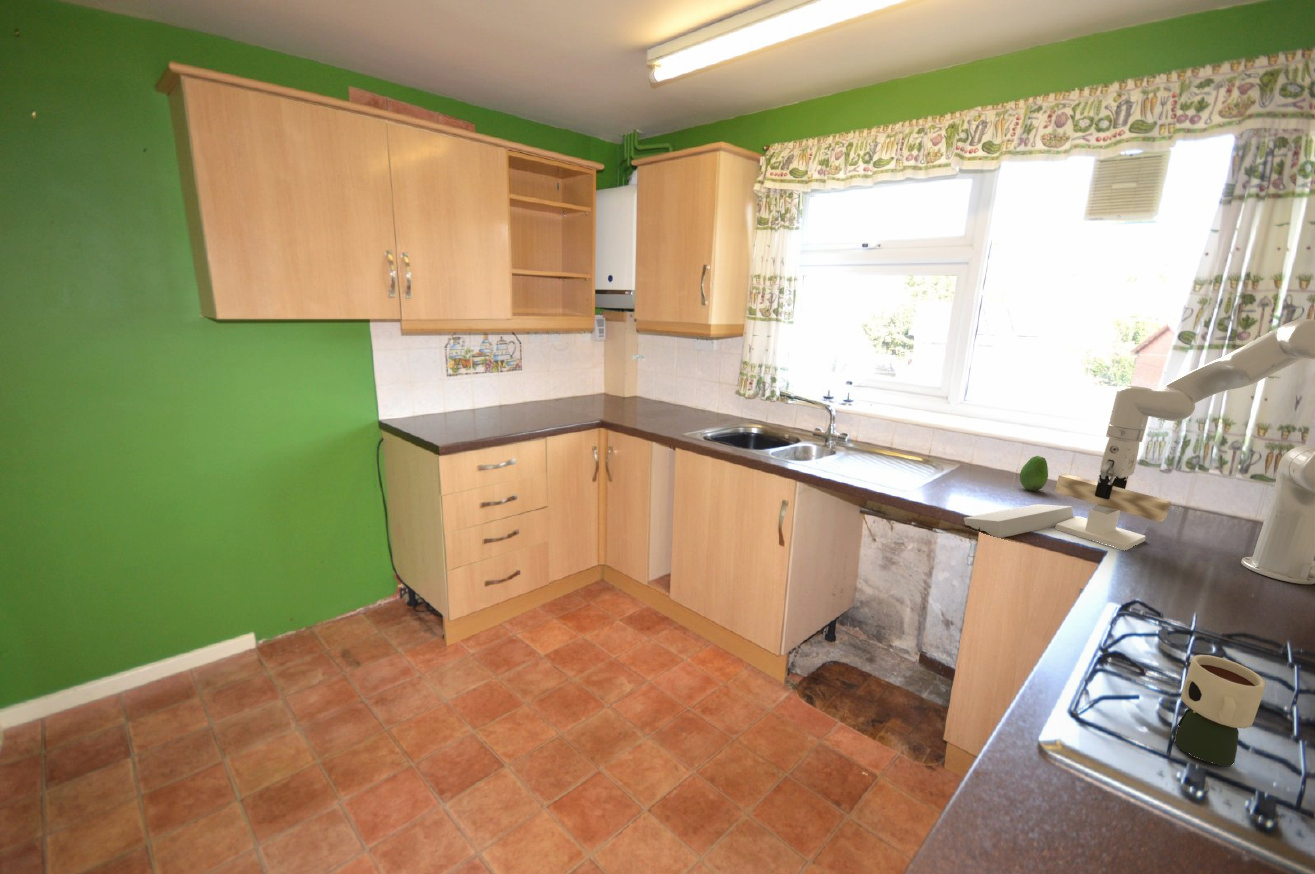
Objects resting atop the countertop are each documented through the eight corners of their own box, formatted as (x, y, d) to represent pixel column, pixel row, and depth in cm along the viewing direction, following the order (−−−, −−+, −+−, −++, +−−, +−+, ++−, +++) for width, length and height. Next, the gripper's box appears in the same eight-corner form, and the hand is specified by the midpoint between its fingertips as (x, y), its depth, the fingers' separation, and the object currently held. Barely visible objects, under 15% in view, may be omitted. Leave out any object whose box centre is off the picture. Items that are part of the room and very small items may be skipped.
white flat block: (964, 535, 160) (1000, 539, 151) (963, 517, 160) (998, 521, 151) (1037, 519, 175) (1073, 523, 166) (1036, 504, 175) (1072, 506, 166)
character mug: (1163, 719, 85) (1187, 641, 82) (1229, 742, 81) (1256, 661, 78) (1170, 763, 76) (1197, 678, 73) (1244, 792, 72) (1276, 703, 69)
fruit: (1011, 486, 197) (1018, 453, 194) (1028, 485, 200) (1036, 452, 197) (1032, 494, 190) (1039, 459, 187) (1050, 493, 192) (1058, 458, 189)
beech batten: (1165, 519, 147) (1171, 501, 145) (1160, 522, 144) (1165, 503, 143) (1060, 490, 166) (1065, 473, 164) (1054, 492, 164) (1058, 475, 162)
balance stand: (1144, 541, 155) (1152, 510, 152) (1124, 551, 147) (1133, 519, 145) (1076, 520, 167) (1083, 492, 165) (1055, 528, 160) (1062, 499, 158)
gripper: (1129, 439, 143) (1113, 504, 147) (1154, 433, 152) (1138, 494, 156) (1094, 433, 149) (1079, 495, 153) (1120, 427, 158) (1105, 486, 162)
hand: (1109, 495), depth 154 cm, fingers open, 9 cm apart
